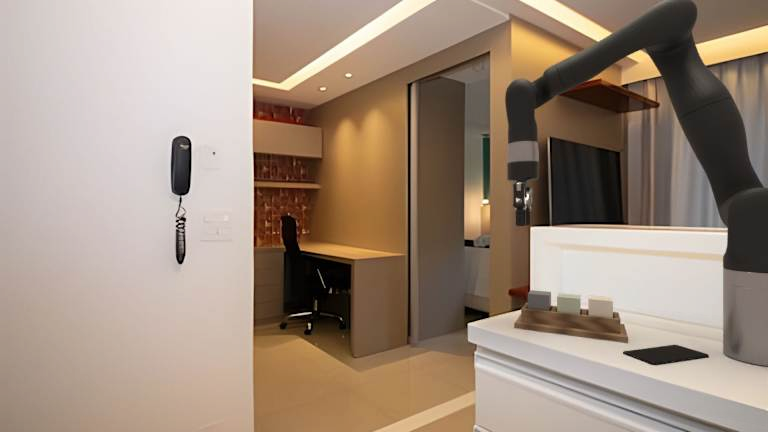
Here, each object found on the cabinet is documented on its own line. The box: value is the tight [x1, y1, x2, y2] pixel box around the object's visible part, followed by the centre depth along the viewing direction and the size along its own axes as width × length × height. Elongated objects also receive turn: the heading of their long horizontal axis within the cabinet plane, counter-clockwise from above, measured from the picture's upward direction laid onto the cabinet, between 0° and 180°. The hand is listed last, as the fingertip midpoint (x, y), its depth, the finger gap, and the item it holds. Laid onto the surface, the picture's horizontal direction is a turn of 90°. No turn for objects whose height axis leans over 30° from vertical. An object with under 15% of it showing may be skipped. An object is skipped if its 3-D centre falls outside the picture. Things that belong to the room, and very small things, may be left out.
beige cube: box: [587, 294, 614, 318], centre depth 92 cm, size 5×5×5 cm
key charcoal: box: [527, 289, 552, 311], centre depth 99 cm, size 5×5×5 cm
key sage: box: [556, 292, 582, 314], centre depth 95 cm, size 5×5×5 cm
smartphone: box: [622, 344, 710, 366], centre depth 77 cm, size 7×1×15 cm
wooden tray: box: [513, 302, 629, 344], centre depth 95 cm, size 24×12×4 cm, turn 61°
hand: (523, 225), depth 97 cm, fingers open, 8 cm apart
